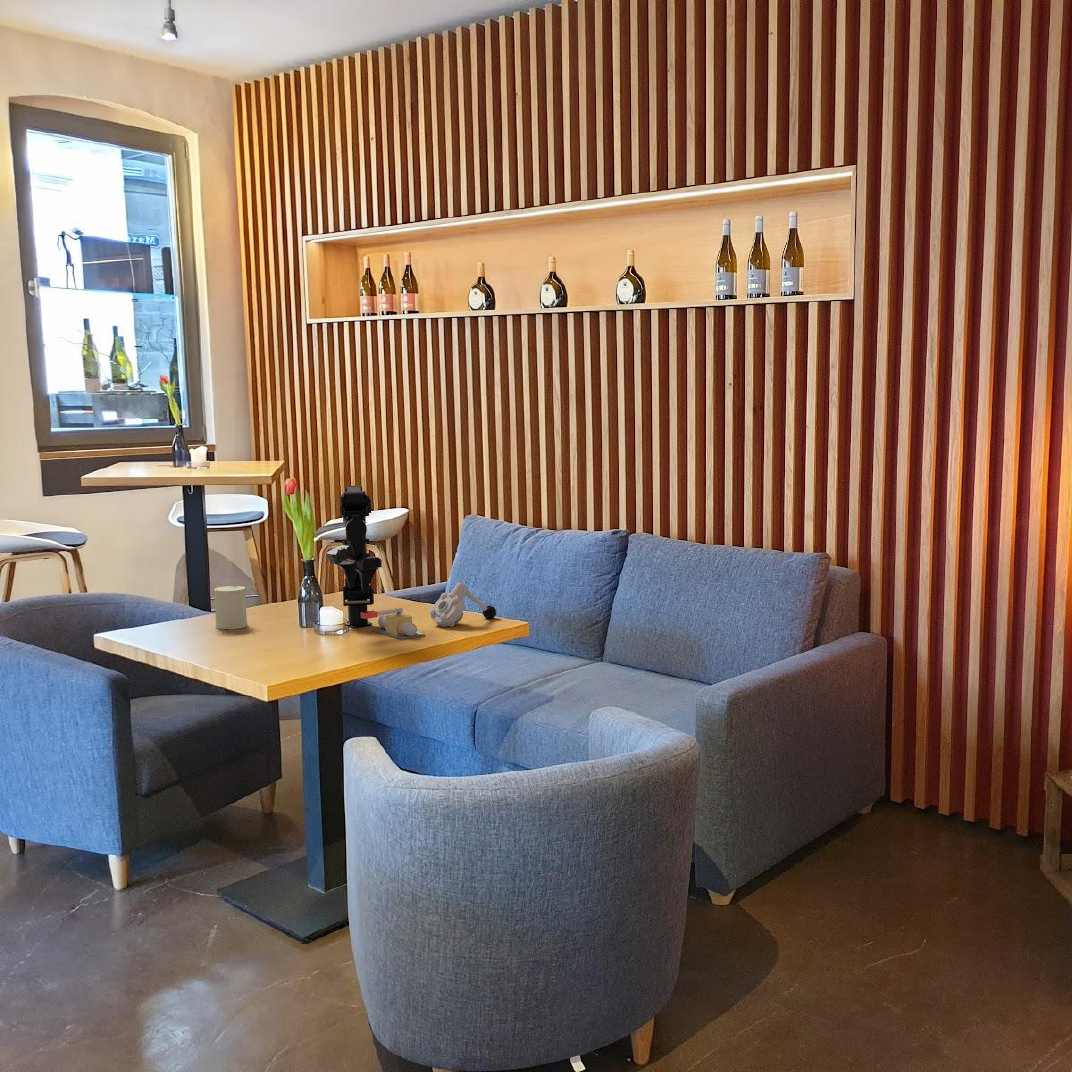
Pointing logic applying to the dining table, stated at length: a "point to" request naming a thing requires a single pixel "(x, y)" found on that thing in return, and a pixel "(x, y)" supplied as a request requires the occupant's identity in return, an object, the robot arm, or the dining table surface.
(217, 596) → the can
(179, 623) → the dining table surface
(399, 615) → the pipe valve
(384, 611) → the valve lever
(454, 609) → the mechanical valve
